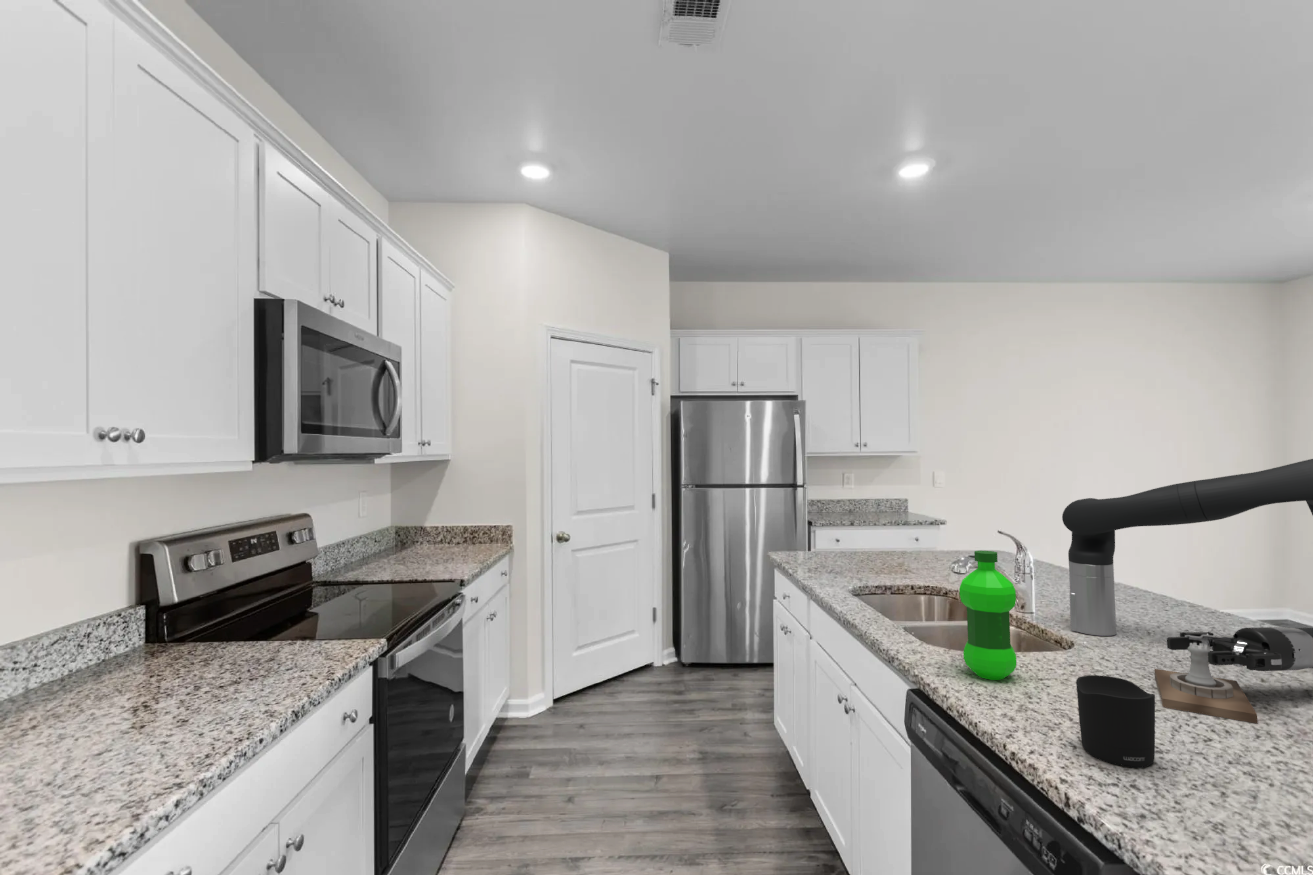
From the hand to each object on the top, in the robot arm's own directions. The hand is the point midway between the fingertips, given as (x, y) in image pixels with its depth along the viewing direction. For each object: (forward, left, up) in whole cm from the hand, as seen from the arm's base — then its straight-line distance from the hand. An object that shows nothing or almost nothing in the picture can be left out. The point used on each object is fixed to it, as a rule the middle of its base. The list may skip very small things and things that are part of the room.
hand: (1188, 650), depth 111 cm
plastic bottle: (-31, -7, -9) cm, 33 cm away
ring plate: (+2, +1, -8) cm, 9 cm away
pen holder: (-11, -33, -9) cm, 36 cm away
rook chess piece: (+2, +1, -7) cm, 8 cm away
